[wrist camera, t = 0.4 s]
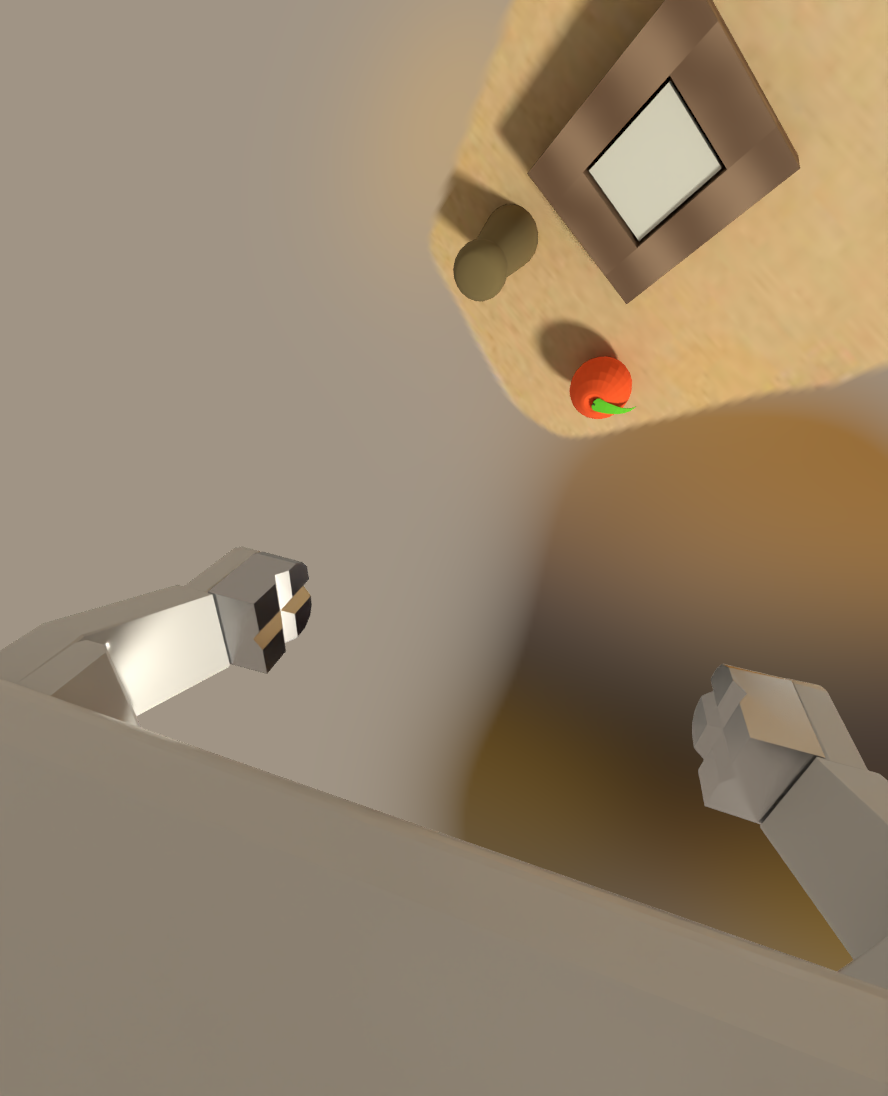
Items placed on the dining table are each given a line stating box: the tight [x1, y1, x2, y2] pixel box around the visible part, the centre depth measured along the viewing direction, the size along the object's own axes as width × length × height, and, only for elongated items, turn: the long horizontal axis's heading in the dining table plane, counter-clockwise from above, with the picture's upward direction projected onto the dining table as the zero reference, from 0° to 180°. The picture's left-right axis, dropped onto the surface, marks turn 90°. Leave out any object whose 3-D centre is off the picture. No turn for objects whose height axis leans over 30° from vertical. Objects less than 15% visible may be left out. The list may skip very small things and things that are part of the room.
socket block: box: [527, 0, 800, 304], centre depth 40 cm, size 15×15×4 cm
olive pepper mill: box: [453, 205, 538, 301], centre depth 47 cm, size 6×6×11 cm
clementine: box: [570, 356, 635, 419], centre depth 55 cm, size 8×7×7 cm
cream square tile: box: [589, 80, 722, 241], centre depth 40 cm, size 7×7×1 cm
